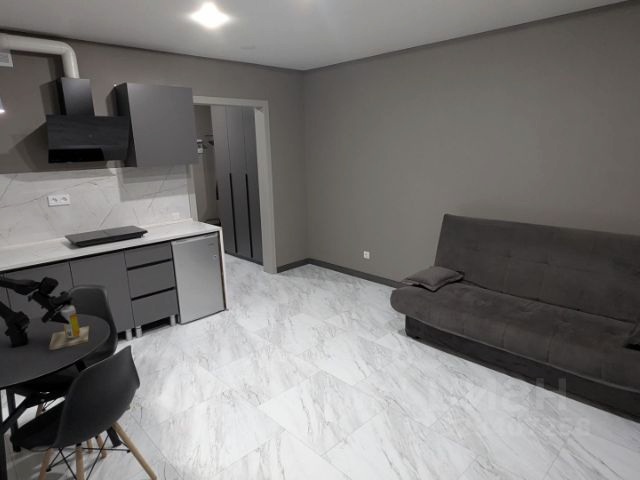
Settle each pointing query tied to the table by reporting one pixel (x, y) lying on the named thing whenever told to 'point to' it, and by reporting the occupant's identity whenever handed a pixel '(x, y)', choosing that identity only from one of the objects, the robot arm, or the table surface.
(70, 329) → the beer can
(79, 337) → the birch board
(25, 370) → the table surface
